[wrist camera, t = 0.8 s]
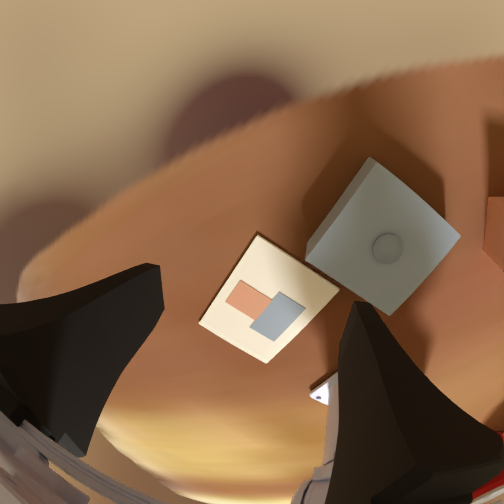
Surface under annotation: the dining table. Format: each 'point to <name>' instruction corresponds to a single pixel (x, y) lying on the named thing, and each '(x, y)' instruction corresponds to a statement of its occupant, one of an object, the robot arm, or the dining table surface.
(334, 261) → the base brick
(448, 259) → the dining table surface
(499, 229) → the top brick
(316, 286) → the page
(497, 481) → the canned food
